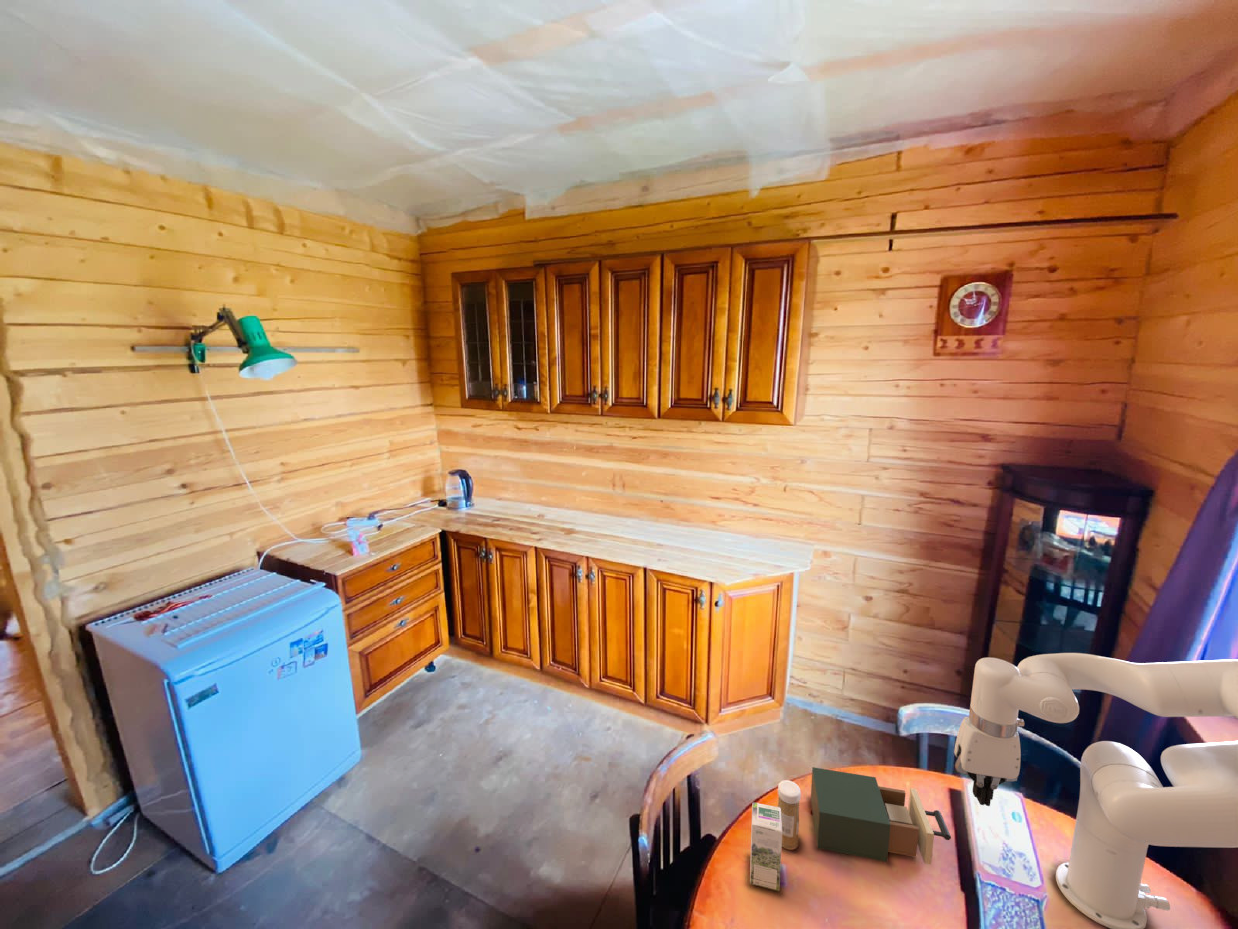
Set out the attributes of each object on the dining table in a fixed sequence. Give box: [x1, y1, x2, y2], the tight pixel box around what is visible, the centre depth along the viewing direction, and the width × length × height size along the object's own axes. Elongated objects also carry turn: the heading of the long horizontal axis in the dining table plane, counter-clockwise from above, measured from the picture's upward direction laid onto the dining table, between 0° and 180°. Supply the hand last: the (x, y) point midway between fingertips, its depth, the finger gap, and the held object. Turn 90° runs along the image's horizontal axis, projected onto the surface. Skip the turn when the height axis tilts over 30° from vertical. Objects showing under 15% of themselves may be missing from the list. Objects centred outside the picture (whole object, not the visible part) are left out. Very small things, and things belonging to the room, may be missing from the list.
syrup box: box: [749, 801, 783, 892], centre depth 100 cm, size 6×6×14 cm
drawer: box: [878, 785, 952, 865], centre depth 108 cm, size 17×11×7 cm
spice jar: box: [777, 779, 802, 850], centre depth 108 cm, size 5×5×14 cm
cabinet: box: [810, 766, 890, 863], centre depth 111 cm, size 14×13×9 cm
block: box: [884, 803, 913, 825], centre depth 108 cm, size 4×4×4 cm
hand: (981, 799), depth 103 cm, fingers closed
